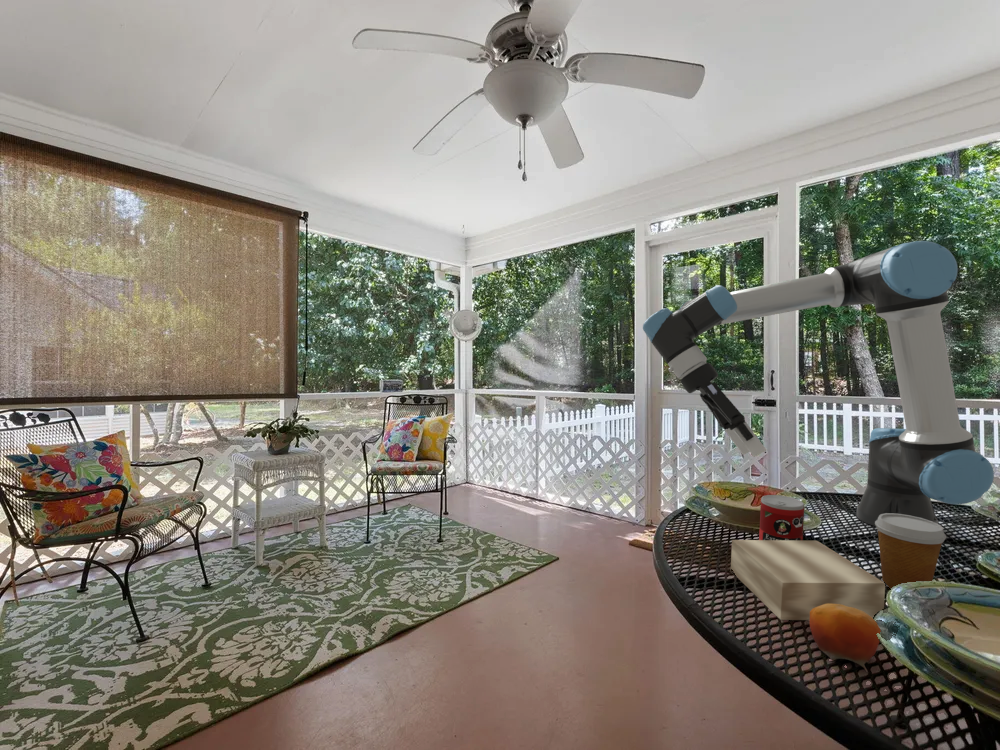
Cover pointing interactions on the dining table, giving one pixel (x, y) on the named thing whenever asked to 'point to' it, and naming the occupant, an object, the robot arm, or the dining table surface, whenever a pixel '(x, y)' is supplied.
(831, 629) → the fruit
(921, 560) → the disposable coffee cup
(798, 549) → the birch block
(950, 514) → the dining table surface
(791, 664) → the dining table surface
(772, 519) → the canned food
